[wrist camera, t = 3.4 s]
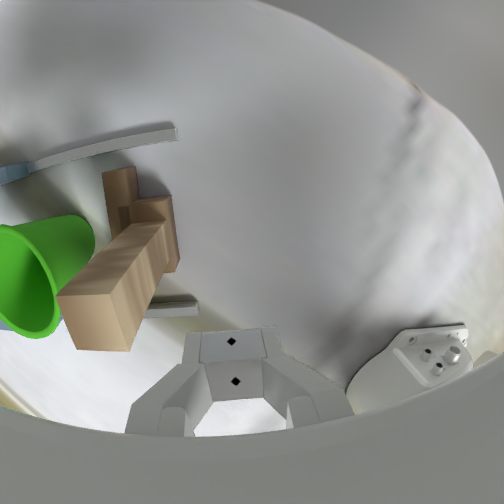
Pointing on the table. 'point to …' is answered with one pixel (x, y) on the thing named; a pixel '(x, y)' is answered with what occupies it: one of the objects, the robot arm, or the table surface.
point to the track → (112, 145)
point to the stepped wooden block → (121, 268)
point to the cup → (40, 270)
